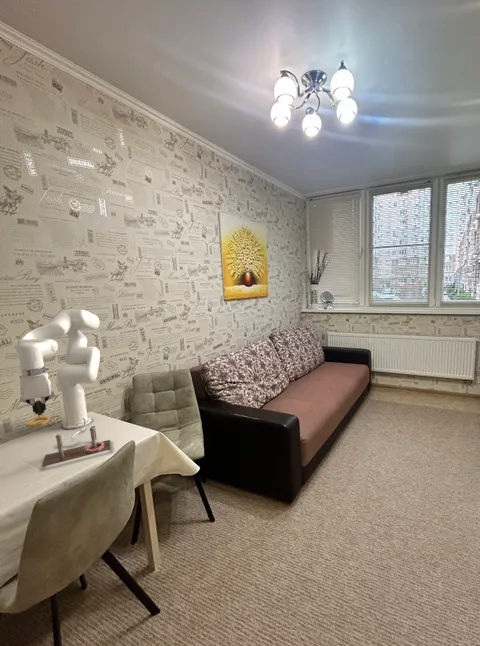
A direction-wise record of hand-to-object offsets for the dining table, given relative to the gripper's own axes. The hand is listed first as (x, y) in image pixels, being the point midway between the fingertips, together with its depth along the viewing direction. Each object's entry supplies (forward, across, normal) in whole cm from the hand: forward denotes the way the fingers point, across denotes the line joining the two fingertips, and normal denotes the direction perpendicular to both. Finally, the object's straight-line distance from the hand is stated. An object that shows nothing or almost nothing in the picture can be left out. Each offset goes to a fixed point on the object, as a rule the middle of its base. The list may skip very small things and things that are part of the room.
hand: (40, 412), depth 133 cm
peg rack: (+19, -12, +11) cm, 25 cm away
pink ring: (+18, -18, +8) cm, 27 cm away
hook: (+19, -10, -10) cm, 24 cm away
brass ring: (+2, 0, +5) cm, 6 cm away
